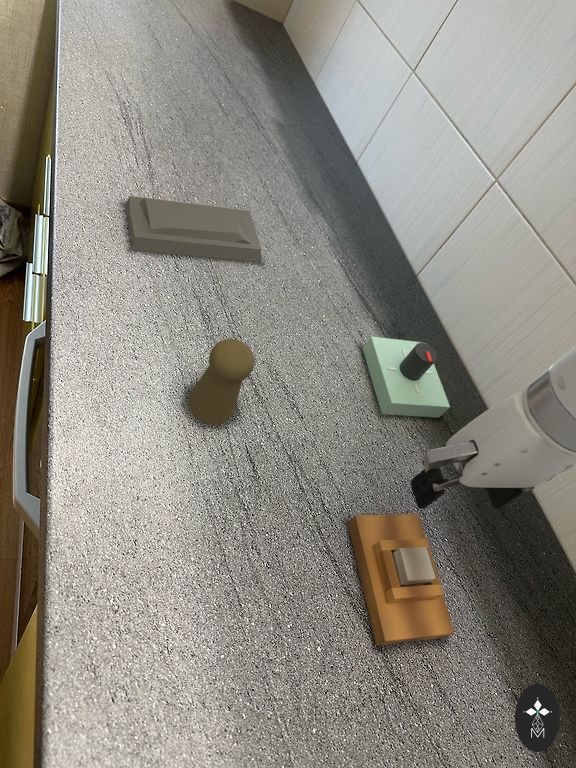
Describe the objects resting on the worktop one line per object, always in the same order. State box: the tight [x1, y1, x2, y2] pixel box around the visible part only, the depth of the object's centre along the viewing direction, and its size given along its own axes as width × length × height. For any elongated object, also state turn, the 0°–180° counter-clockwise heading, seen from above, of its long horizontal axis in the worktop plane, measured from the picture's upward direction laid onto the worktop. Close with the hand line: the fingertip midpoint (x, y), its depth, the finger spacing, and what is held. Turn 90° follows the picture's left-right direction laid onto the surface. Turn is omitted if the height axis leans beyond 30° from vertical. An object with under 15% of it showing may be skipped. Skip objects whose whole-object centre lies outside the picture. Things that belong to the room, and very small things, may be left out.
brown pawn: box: [187, 338, 256, 426], centre depth 68 cm, size 6×6×11 cm
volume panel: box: [362, 336, 451, 419], centre depth 86 cm, size 10×12×3 cm
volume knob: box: [400, 342, 438, 381], centre depth 83 cm, size 4×4×5 cm
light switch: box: [347, 513, 456, 647], centre depth 66 cm, size 9×14×4 cm, turn 10°
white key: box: [392, 547, 436, 585], centre depth 64 cm, size 4×4×2 cm
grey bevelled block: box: [124, 195, 262, 263], centre depth 89 cm, size 10×20×4 cm, turn 105°
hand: (454, 495), depth 60 cm, fingers open, 9 cm apart
